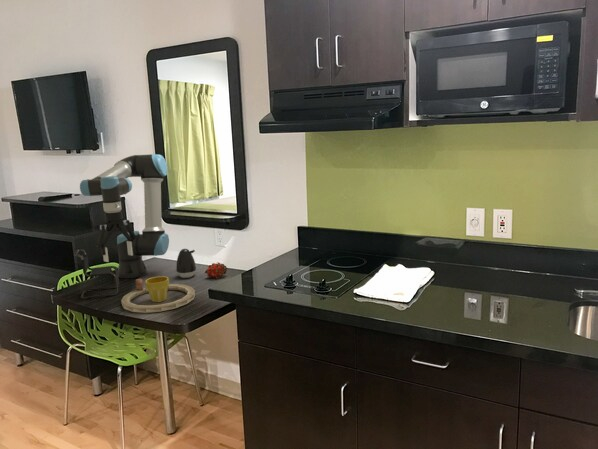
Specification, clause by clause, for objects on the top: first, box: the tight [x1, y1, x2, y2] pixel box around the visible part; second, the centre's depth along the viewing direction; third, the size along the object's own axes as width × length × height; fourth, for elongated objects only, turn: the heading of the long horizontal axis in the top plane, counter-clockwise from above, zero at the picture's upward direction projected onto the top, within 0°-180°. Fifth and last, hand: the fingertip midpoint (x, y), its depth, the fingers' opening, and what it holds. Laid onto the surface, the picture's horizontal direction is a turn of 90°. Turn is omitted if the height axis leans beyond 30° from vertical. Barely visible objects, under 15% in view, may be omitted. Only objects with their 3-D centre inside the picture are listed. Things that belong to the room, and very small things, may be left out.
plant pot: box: [144, 276, 170, 303], centre depth 224 cm, size 10×10×10 cm
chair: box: [73, 248, 120, 300], centre depth 235 cm, size 13×17×22 cm
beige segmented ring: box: [120, 278, 196, 314], centre depth 224 cm, size 32×32×7 cm
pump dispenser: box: [175, 248, 197, 279], centre depth 257 cm, size 10×10×15 cm
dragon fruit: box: [204, 262, 228, 279], centre depth 255 cm, size 8×8×12 cm
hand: (118, 258), depth 222 cm, fingers open, 12 cm apart
